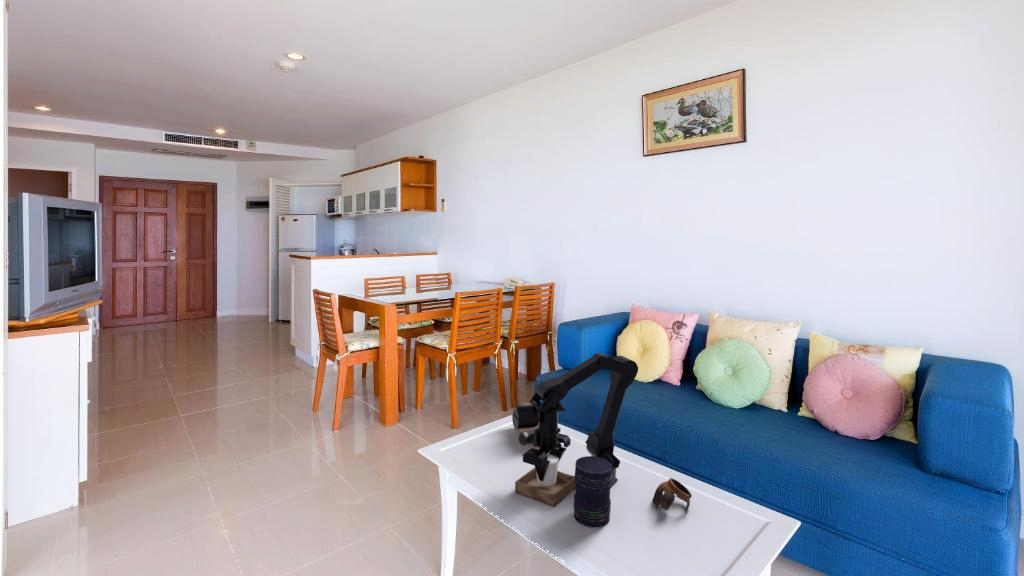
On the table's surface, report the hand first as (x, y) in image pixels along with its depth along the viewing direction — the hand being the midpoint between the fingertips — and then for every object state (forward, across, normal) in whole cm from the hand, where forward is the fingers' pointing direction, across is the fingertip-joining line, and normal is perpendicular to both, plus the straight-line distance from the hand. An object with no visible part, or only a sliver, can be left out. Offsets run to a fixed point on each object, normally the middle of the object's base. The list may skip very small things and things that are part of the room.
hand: (546, 476), depth 146 cm
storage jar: (+5, +5, +17) cm, 18 cm away
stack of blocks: (+5, -31, -23) cm, 39 cm away
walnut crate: (+4, 0, 0) cm, 4 cm away
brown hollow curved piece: (+5, -13, +33) cm, 35 cm away
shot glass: (+2, 0, 0) cm, 2 cm away
